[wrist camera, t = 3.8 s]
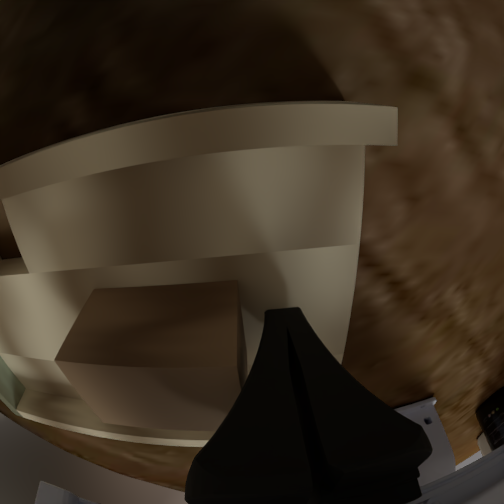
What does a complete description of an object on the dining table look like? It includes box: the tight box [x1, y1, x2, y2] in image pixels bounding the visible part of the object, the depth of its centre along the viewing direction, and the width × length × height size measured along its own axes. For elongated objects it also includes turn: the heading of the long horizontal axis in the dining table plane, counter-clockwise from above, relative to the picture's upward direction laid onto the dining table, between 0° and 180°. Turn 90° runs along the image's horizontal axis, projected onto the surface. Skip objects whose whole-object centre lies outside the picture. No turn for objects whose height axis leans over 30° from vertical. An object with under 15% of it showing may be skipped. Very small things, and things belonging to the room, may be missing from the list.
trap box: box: [0, 101, 398, 447], centre depth 12 cm, size 23×16×4 cm
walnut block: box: [54, 280, 248, 431], centre depth 10 cm, size 6×4×4 cm, turn 94°
